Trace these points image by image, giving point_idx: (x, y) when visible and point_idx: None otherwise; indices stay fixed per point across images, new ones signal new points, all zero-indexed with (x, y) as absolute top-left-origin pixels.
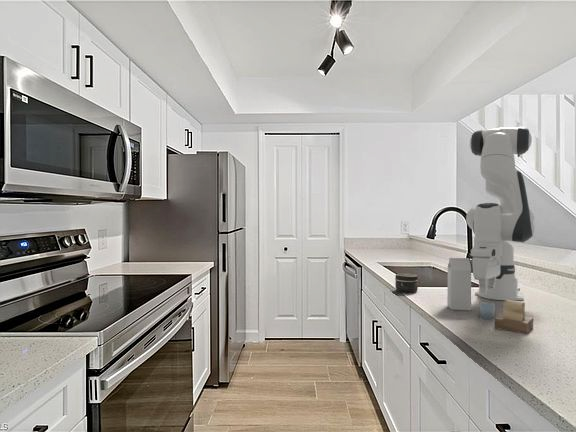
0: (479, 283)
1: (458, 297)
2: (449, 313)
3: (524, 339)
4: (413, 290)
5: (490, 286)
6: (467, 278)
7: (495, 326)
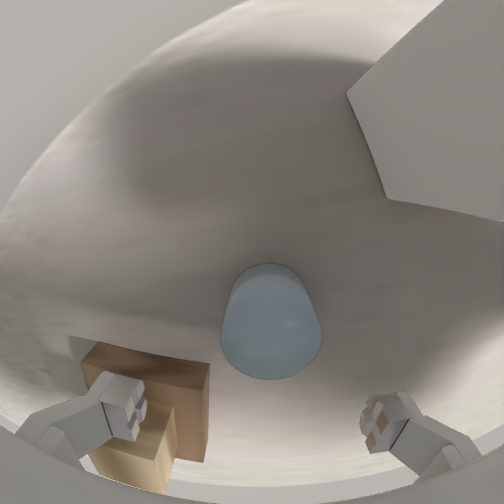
0: (44, 412)
1: (397, 117)
2: (252, 101)
3: (61, 400)
4: None
5: (375, 423)
6: None
7: (96, 347)
